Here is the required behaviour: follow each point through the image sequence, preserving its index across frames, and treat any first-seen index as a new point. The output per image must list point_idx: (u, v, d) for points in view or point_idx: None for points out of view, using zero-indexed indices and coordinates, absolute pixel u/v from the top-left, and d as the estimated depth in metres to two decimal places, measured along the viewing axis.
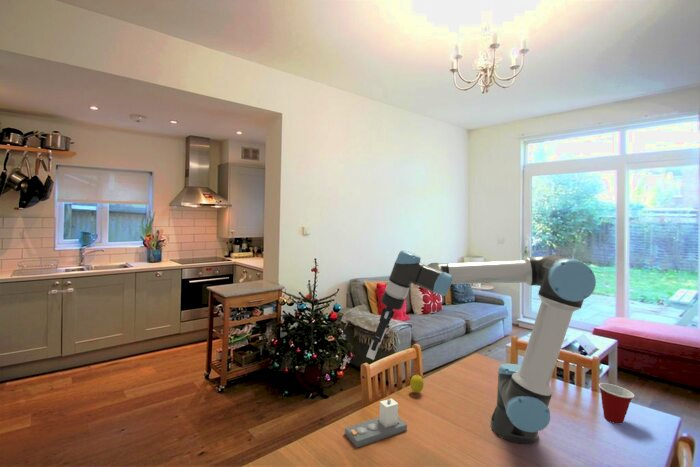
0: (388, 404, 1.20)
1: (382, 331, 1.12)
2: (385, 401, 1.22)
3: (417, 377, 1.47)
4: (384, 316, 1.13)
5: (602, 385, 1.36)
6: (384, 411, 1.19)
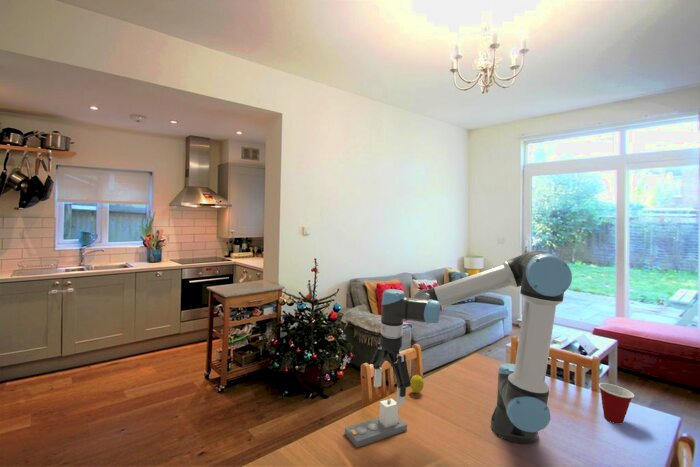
0: (388, 404, 1.20)
1: (407, 375, 1.13)
2: (385, 401, 1.22)
3: (417, 377, 1.47)
4: (401, 360, 1.14)
5: (602, 385, 1.36)
6: (384, 411, 1.19)
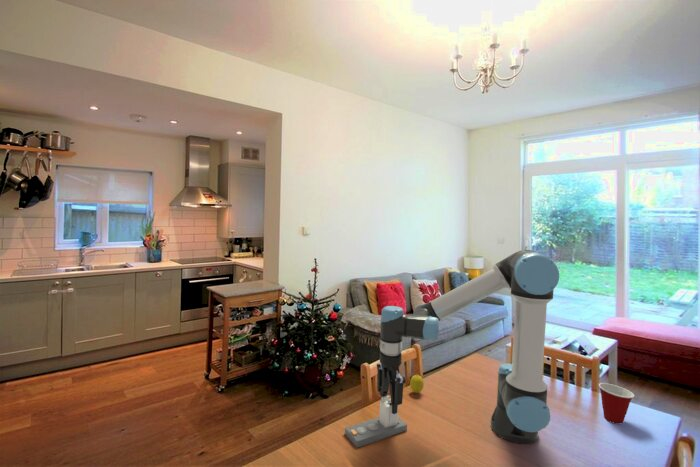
0: (388, 404, 1.20)
1: (401, 394, 1.16)
2: (385, 401, 1.22)
3: (417, 377, 1.47)
4: (400, 382, 1.15)
5: (602, 385, 1.36)
6: (384, 411, 1.19)
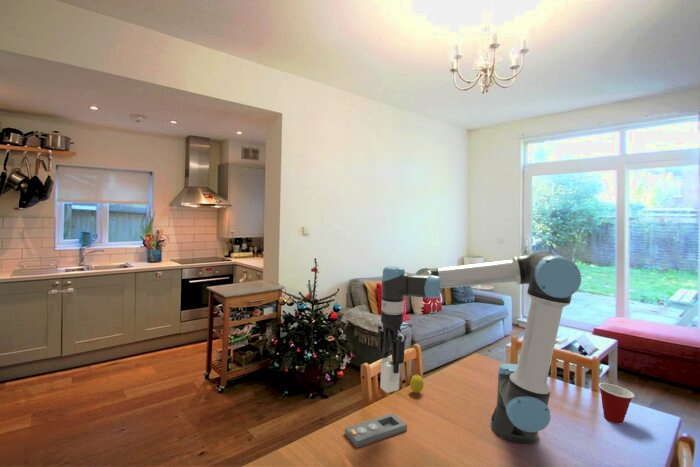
0: (389, 364, 1.19)
1: (403, 353, 1.16)
2: (386, 362, 1.21)
3: (417, 377, 1.47)
4: (401, 341, 1.14)
5: (602, 385, 1.36)
6: (385, 371, 1.19)
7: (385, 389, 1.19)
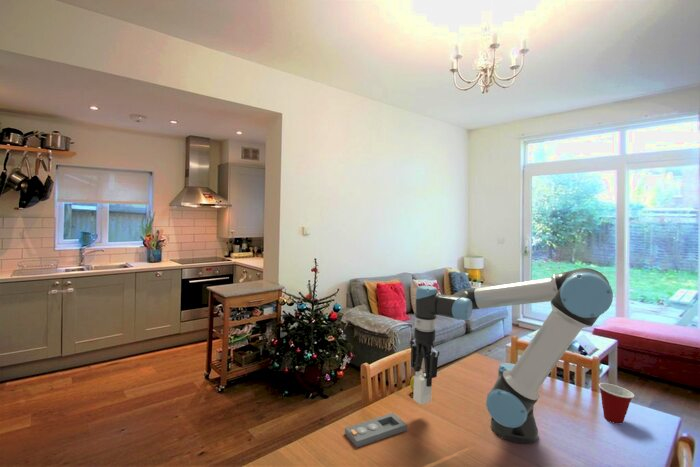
0: (422, 378, 1.27)
1: (436, 368, 1.23)
2: (419, 375, 1.29)
3: None
4: (435, 356, 1.22)
5: (602, 385, 1.36)
6: (418, 384, 1.26)
7: (418, 401, 1.26)
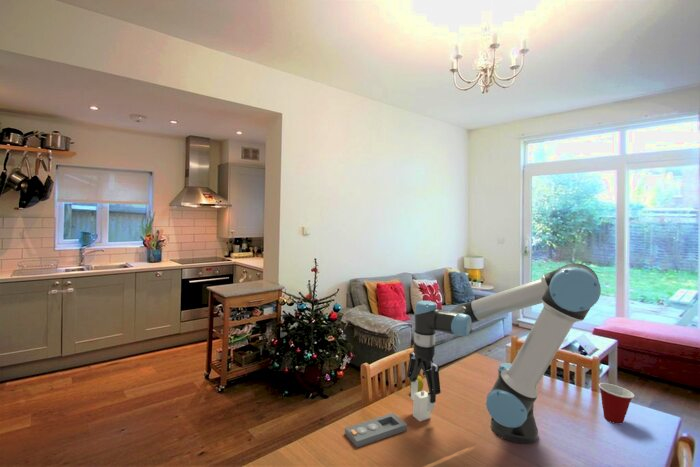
0: (422, 395, 1.27)
1: (438, 383, 1.22)
2: (418, 393, 1.29)
3: (417, 377, 1.47)
4: (435, 370, 1.22)
5: (602, 385, 1.36)
6: (418, 402, 1.27)
7: (418, 419, 1.27)
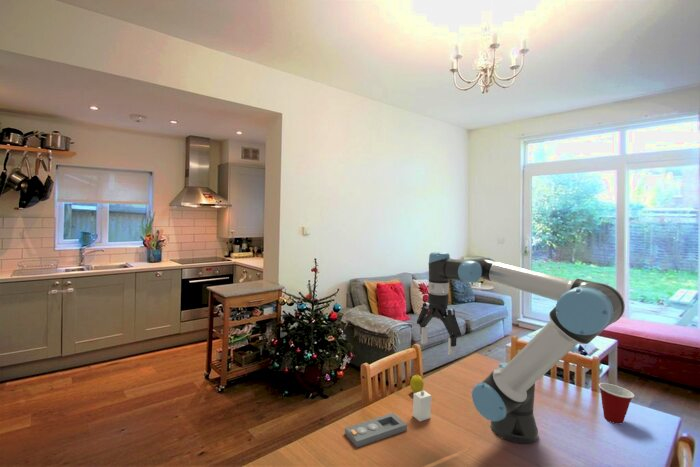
0: (422, 395, 1.27)
1: (457, 326, 1.25)
2: (418, 393, 1.29)
3: (417, 377, 1.47)
4: (451, 313, 1.26)
5: (602, 385, 1.36)
6: (418, 402, 1.27)
7: (418, 419, 1.27)
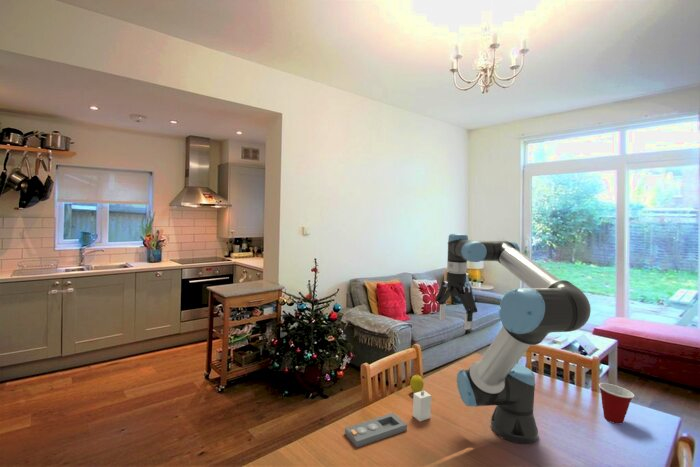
0: (422, 395, 1.27)
1: (474, 302, 1.34)
2: (418, 393, 1.29)
3: (417, 377, 1.47)
4: (468, 291, 1.34)
5: (602, 385, 1.36)
6: (418, 402, 1.27)
7: (418, 419, 1.27)
